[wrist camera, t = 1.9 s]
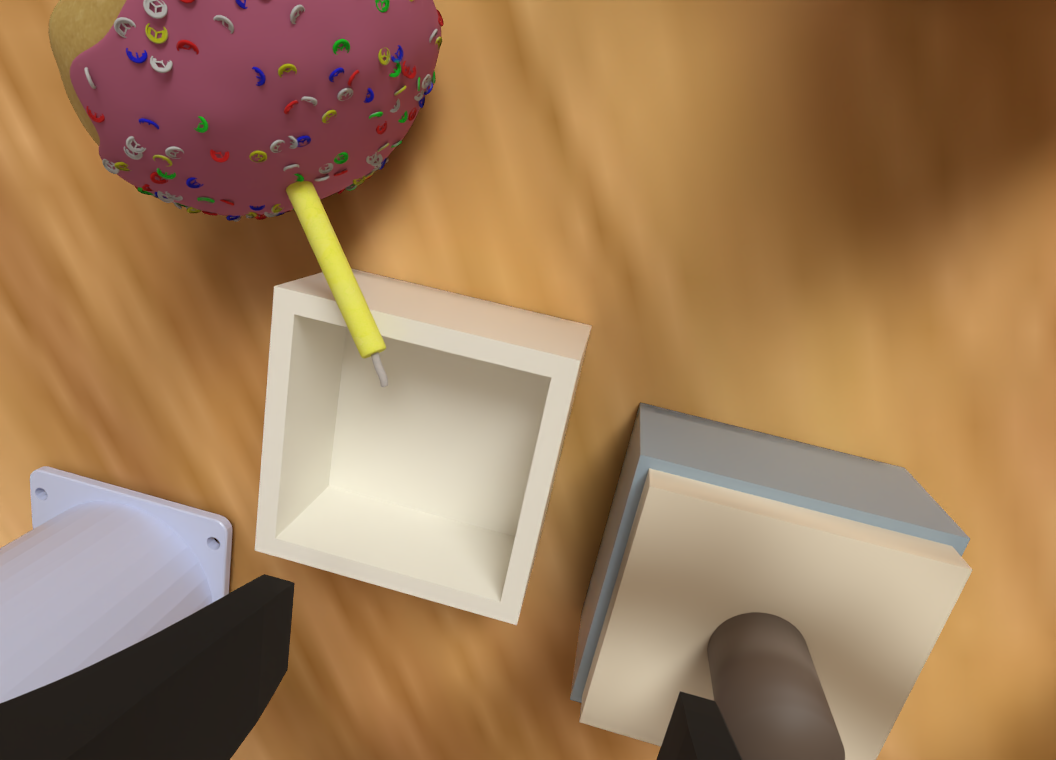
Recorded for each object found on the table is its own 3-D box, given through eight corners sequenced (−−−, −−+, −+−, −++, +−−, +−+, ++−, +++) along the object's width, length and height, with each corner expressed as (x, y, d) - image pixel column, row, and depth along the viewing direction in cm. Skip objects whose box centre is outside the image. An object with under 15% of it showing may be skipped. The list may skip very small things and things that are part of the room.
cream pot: (537, 548, 22) (516, 625, 18) (318, 488, 23) (255, 550, 19) (591, 325, 19) (580, 360, 16) (342, 266, 20) (274, 286, 16)
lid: (842, 770, 18) (896, 928, 14) (582, 694, 18) (568, 826, 15) (952, 546, 15) (1053, 664, 12) (649, 468, 16) (652, 556, 12)
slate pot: (812, 677, 22) (849, 781, 18) (581, 612, 22) (570, 699, 19) (904, 467, 19) (970, 538, 15) (640, 402, 20) (640, 454, 16)
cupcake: (272, 71, 21) (453, 379, 20) (-53, 38, 15) (188, 486, 14) (401, -189, 16) (659, 213, 15) (-27, -422, 9) (378, 265, 8)
